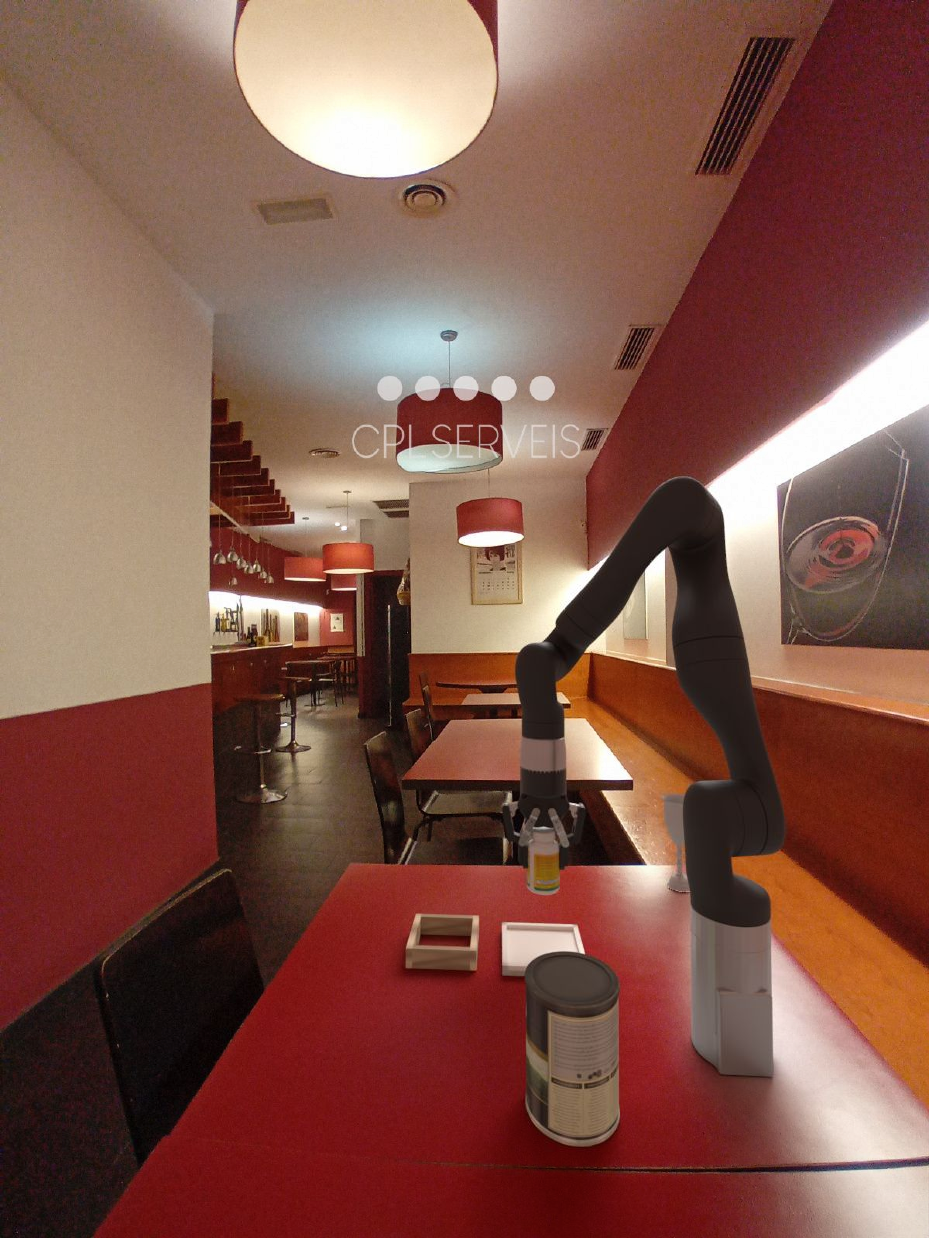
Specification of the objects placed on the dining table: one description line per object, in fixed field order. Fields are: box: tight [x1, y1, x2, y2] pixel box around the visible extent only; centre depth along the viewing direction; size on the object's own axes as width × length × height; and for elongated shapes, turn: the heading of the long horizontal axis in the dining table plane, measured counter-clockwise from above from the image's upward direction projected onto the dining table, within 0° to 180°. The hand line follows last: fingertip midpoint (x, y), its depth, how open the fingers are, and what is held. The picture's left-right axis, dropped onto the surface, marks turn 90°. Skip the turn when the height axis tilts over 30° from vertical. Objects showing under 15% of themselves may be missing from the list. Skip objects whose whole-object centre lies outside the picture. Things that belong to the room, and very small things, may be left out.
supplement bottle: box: [526, 827, 561, 896], centre depth 93 cm, size 5×5×10 cm
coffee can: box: [524, 951, 621, 1148], centre depth 63 cm, size 10×10×14 cm
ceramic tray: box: [501, 921, 586, 977], centre depth 93 cm, size 13×13×2 cm
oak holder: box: [405, 913, 480, 972], centre depth 94 cm, size 11×11×3 cm
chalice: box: [661, 793, 690, 892], centre depth 117 cm, size 7×7×18 cm
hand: (543, 867), depth 93 cm, fingers closed on supplement bottle, 5 cm apart
